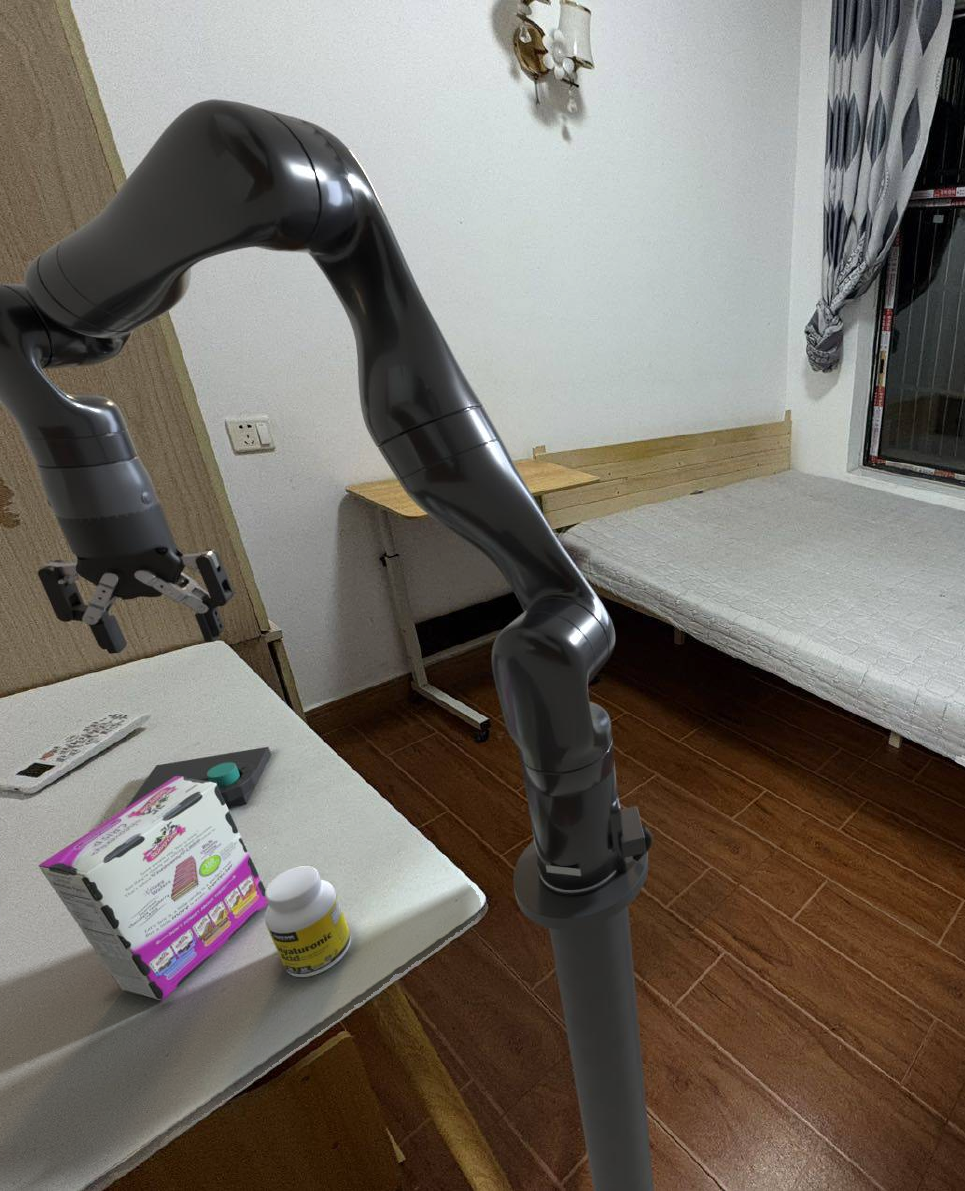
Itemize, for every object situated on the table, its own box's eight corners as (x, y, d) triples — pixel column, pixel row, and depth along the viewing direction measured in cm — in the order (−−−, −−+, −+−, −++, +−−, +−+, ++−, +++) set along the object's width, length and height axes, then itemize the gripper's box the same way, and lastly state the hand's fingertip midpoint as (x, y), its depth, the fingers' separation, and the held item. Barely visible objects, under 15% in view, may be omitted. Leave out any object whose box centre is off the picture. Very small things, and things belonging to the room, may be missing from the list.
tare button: (243, 771, 82) (239, 760, 81) (235, 785, 79) (231, 774, 79) (216, 775, 81) (211, 764, 80) (207, 790, 78) (202, 779, 78)
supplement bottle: (278, 987, 60) (245, 915, 56) (294, 938, 64) (264, 867, 60) (346, 968, 62) (319, 897, 58) (357, 921, 66) (332, 852, 62)
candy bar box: (232, 892, 69) (176, 772, 62) (273, 901, 68) (221, 780, 61) (115, 993, 59) (32, 863, 52) (161, 1004, 58) (83, 874, 51)
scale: (279, 753, 89) (272, 735, 88) (253, 807, 80) (245, 788, 79) (160, 773, 84) (151, 755, 83) (118, 832, 75) (108, 813, 74)
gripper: (210, 489, 70) (256, 621, 77) (34, 497, 65) (100, 637, 72) (181, 510, 64) (234, 651, 71) (-16, 521, 59) (62, 672, 66)
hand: (166, 644), depth 72 cm, fingers open, 8 cm apart
